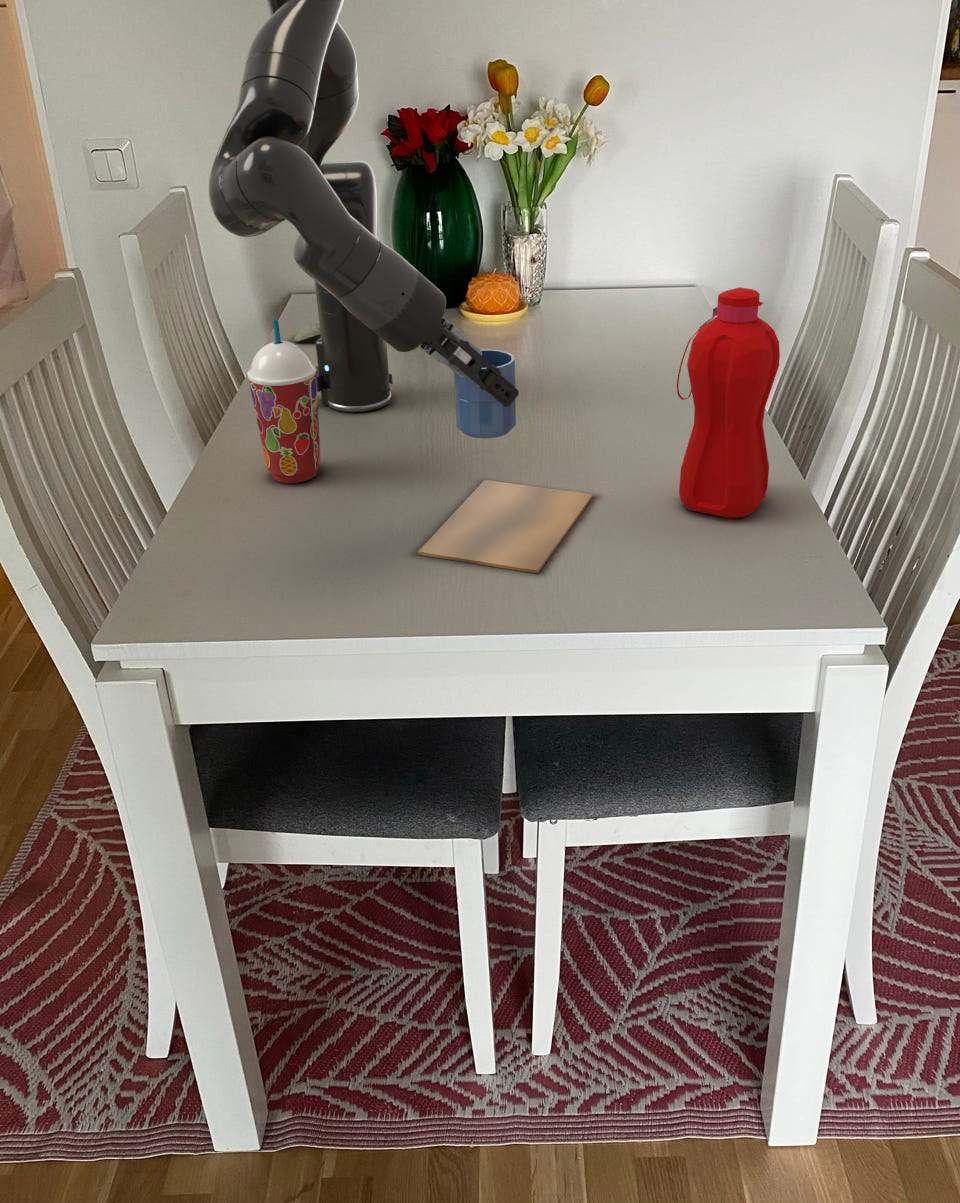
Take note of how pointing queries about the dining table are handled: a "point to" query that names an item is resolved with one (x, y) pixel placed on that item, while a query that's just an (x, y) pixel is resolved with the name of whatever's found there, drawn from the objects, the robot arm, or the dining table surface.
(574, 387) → the dining table surface
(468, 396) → the blue plastic tumbler
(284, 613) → the dining table surface
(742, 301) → the water bottle
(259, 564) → the dining table surface
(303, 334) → the soupspoon
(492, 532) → the mat
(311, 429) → the smoothie
